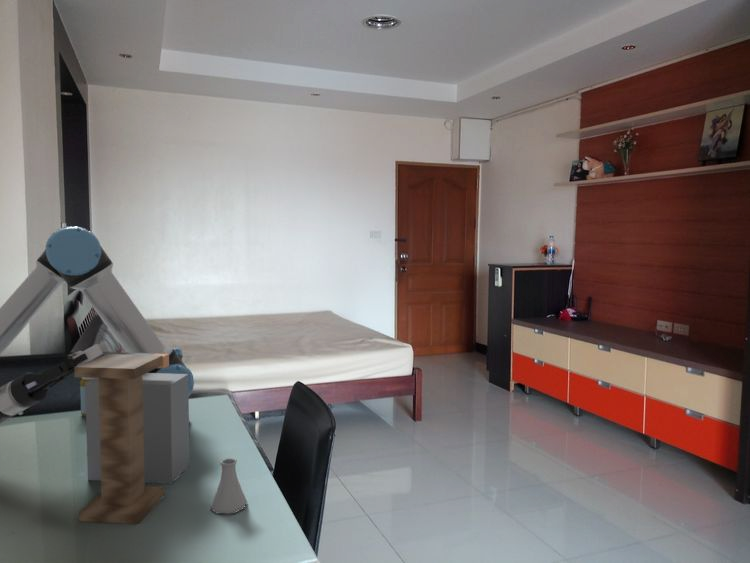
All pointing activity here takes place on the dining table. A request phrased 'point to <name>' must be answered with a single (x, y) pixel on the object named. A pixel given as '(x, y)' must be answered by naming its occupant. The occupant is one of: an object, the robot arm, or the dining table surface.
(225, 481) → the flask
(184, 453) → the block
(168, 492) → the dining table surface
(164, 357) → the grey long bar
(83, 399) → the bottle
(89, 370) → the stand
